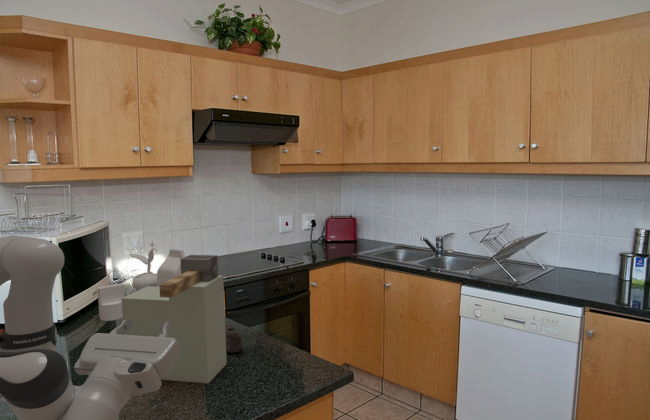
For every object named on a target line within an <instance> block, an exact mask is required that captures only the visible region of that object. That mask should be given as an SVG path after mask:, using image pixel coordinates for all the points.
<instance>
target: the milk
mask: <svg viewBox="0 0 650 420" xmlns="http://www.w3.org/2000/svg"><path fill="white" fill-rule="evenodd" d="M184 257H186V253H185V252H184V250H183V249H177V248H171V249H169V252H168V256H167V257H166V259H165V260H164V261H163V262H162V263H161V264H160V266H159V267H158V269H157V272H156V274H157V287H159V285H160V284H162V283H164V282H166V281H168V280H170V279H173V278H175V277H177V276H179V275H181V262H180V259H182V258H184Z"/></svg>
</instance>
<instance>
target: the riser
mask: <svg viewBox="0 0 650 420" xmlns="http://www.w3.org/2000/svg"><path fill="white" fill-rule="evenodd" d="M224 287H225V286H224V275H220V274H218V277H216V278H215V279H213V280H211V281H210V282H199V283H197V284H195V285H193V286H191V287H190V288H188V289H186V290H184V291H183V292H181V293H179V294H177V295H175V296H174V297H172V298H167V297H160V289H159V287H150V286H147V287H145V288H142V289H140V290H138V291H137V290H135V291H134V292H132V293H130V294H128V295H126V296H125V295H124V297H123V298H122V313H123V318H122V321H123V320H131V322H132V327H131V329H130V330H129V331H125V332H124V333H123V335H136V336H152V337H159V335H160V334H163V333H162V332H161V330H160V328H159V327H160V325H162V322H169V323H170V325H171V328H170V330H169V332H168V335H169V338H175V339H176V340H177V342H178V344H179V346H180V354H179V357H178V359H177V360H176V362H175V364H174V366H173V367H172V369H171V371H170V372H169V373H168V374H167V375H166V376H165V377H164V378H162V379H161V381H162V380H163V381H171V382H172V381H174V382H183V383H184V382H186V383H197V384H210V382H211V381H213V379H214V378H215V377H216V376H217V375H218V374H219V373H220V372H221V371H222V369H224V367H225V366H226V365H227V364H228V363H227V359H228V358H227V350H226V335H225V325H226V317H225V315H226V311H225V310H226V309H225V294H224V293H225V288H224Z"/></svg>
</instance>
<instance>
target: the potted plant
mask: <svg viewBox="0 0 650 420" xmlns="http://www.w3.org/2000/svg"><path fill="white" fill-rule="evenodd" d="M150 246H151V249H150V250H149V251H148V254H147V256H145V255H141V254H135V253H134V254H133V253H132V254H129V256H130V257H131V258H135V259H136V260H139V261H140V262H141V263H143V264H144V265H147V269H146V271H147V272H143V273H139V274H138V275H136V276H133V278H132V287H133V288H134V289H135V291H138V290H140V289H142V288H145V287H147V286H150V287H157V273H154V272H153V271H151V269H152V265H151V263H152V262H153V261H154V256H155V254H154V251H155V252H157V251H158V249H157V246H156V247H154V246H155V243H154V242H153V241H151V244H150Z"/></svg>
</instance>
